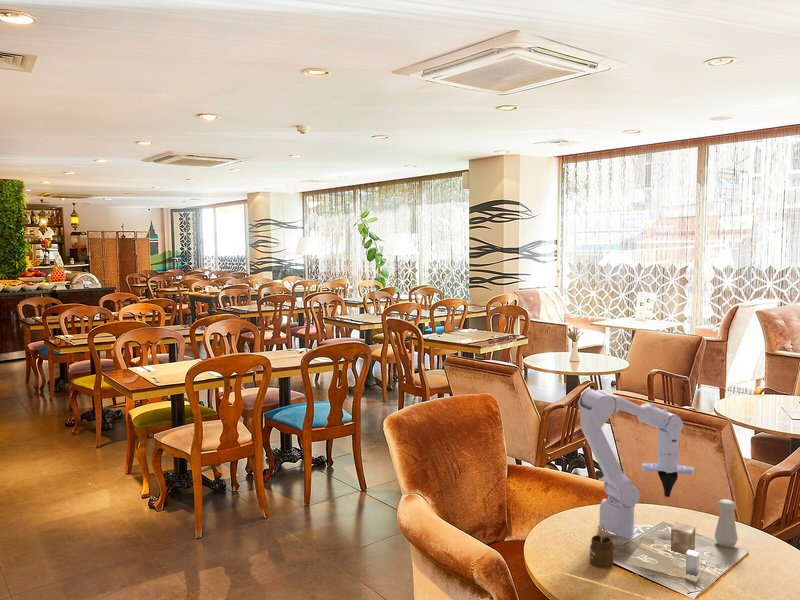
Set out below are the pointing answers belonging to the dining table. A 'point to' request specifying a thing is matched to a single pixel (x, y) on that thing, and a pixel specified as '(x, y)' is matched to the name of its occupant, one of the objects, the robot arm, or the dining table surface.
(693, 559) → the steel post
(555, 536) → the dining table surface
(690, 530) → the wood block
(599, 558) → the utensil holder
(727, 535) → the salt shaker
